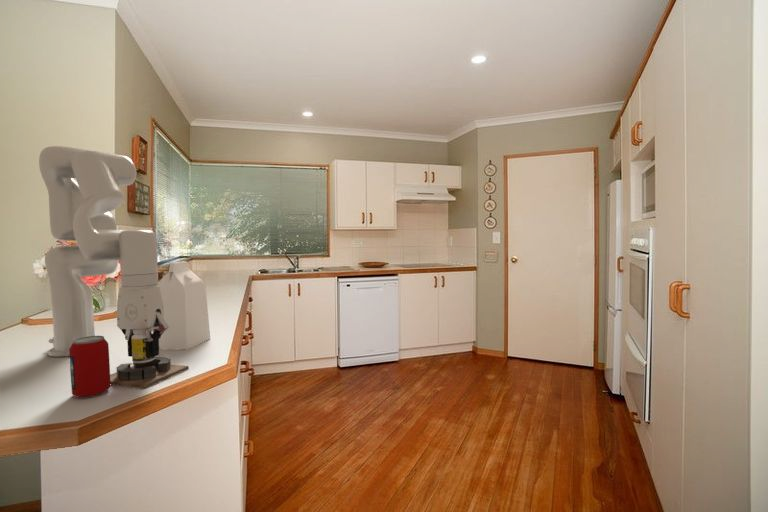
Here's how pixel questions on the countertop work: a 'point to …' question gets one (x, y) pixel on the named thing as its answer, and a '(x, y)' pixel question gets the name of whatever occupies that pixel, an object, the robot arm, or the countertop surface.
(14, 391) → the countertop surface
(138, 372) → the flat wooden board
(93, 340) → the beverage can
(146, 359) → the supplement bottle
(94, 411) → the countertop surface
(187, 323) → the milk
